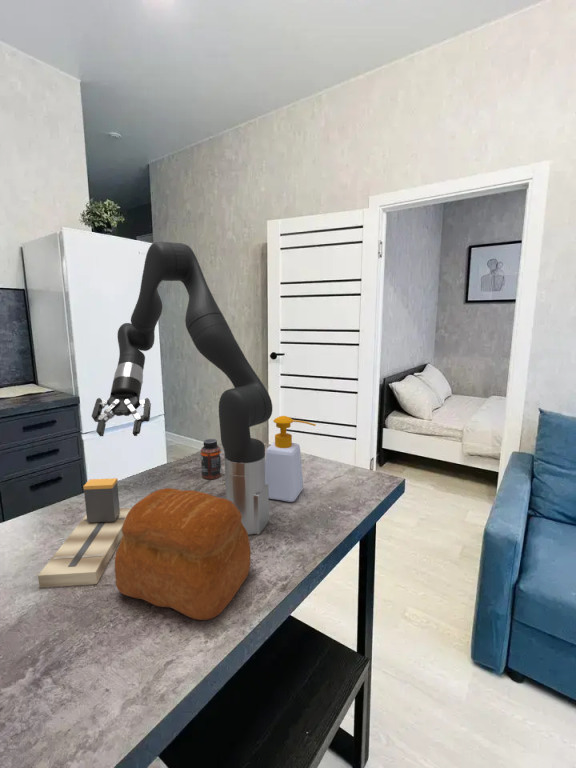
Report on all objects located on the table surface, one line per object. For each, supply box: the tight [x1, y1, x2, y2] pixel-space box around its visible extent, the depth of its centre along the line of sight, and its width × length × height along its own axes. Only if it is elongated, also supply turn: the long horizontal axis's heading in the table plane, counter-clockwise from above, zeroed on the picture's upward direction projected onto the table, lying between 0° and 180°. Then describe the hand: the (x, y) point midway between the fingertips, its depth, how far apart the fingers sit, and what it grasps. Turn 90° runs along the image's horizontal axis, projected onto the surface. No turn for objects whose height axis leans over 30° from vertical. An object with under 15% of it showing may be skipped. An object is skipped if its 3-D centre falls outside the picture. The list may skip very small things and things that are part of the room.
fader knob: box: [83, 477, 120, 523], centre depth 89 cm, size 4×6×9 cm, turn 96°
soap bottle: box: [265, 415, 317, 503], centre depth 106 cm, size 10×14×22 cm
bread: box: [114, 487, 252, 621], centre depth 71 cm, size 18×22×17 cm
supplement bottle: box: [200, 438, 222, 480], centre depth 119 cm, size 6×6×11 cm
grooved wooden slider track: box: [37, 507, 132, 589], centre depth 83 cm, size 24×10×3 cm, turn 6°
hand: (117, 434), depth 101 cm, fingers open, 8 cm apart
